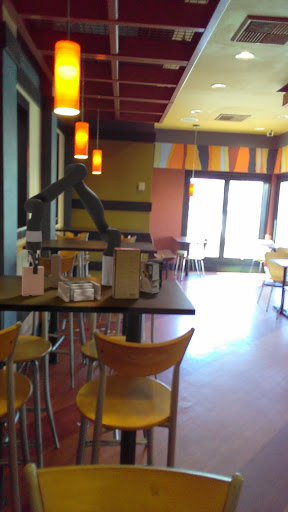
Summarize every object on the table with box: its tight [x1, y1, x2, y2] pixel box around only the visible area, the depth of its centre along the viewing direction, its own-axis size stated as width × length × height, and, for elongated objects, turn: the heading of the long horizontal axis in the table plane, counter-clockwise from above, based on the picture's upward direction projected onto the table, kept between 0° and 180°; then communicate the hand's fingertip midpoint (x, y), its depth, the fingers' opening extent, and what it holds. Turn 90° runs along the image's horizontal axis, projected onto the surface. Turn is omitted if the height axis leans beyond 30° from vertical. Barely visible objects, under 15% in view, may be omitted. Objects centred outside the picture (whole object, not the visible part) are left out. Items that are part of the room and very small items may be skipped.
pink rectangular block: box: [21, 265, 45, 297], centre depth 196 cm, size 10×3×14 cm, turn 119°
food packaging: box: [111, 247, 142, 300], centre depth 201 cm, size 13×9×25 cm
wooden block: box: [50, 253, 70, 289], centre depth 216 cm, size 9×4×18 cm, turn 81°
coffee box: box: [139, 261, 160, 294], centre depth 218 cm, size 9×6×16 cm
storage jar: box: [146, 259, 164, 288], centre depth 235 cm, size 10×10×15 cm
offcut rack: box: [57, 280, 102, 303], centre depth 196 cm, size 18×13×7 cm
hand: (33, 272), depth 195 cm, fingers open, 8 cm apart
